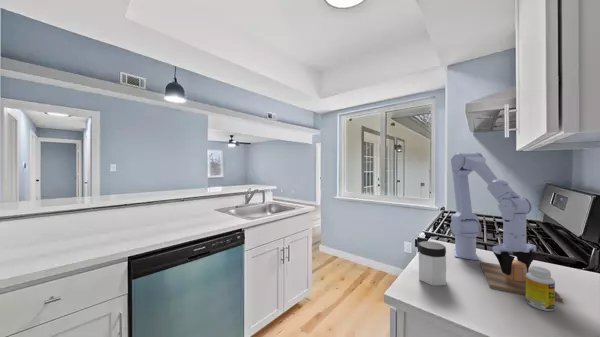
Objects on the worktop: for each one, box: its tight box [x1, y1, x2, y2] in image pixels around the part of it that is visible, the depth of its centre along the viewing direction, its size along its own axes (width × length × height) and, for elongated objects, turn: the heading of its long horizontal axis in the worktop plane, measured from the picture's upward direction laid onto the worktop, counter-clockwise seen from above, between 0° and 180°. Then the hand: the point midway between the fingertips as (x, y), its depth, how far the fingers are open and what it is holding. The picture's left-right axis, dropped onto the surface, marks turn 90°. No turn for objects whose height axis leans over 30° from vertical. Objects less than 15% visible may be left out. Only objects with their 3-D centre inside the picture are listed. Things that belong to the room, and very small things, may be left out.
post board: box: [479, 261, 564, 303], centre depth 78 cm, size 20×16×4 cm
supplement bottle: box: [525, 265, 556, 312], centre depth 64 cm, size 6×6×10 cm
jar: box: [417, 240, 447, 287], centre depth 79 cm, size 9×8×12 cm
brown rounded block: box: [503, 259, 527, 282], centre depth 78 cm, size 6×6×5 cm
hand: (514, 273), depth 78 cm, fingers closed on brown rounded block, 6 cm apart
